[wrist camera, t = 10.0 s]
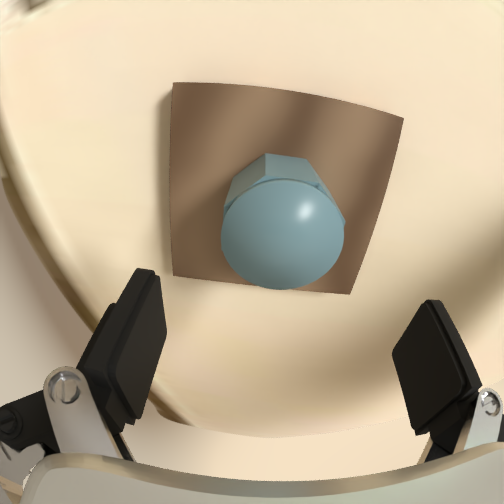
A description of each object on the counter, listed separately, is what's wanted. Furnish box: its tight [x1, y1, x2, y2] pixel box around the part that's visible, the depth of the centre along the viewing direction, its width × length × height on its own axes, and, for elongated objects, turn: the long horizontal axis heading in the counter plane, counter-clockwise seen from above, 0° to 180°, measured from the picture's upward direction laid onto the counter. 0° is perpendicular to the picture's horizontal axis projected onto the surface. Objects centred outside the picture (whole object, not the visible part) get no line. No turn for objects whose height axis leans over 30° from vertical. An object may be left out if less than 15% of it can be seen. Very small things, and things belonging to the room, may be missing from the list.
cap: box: [221, 153, 346, 290], centre depth 16 cm, size 6×6×5 cm
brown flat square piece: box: [170, 82, 404, 295], centre depth 19 cm, size 14×14×2 cm
